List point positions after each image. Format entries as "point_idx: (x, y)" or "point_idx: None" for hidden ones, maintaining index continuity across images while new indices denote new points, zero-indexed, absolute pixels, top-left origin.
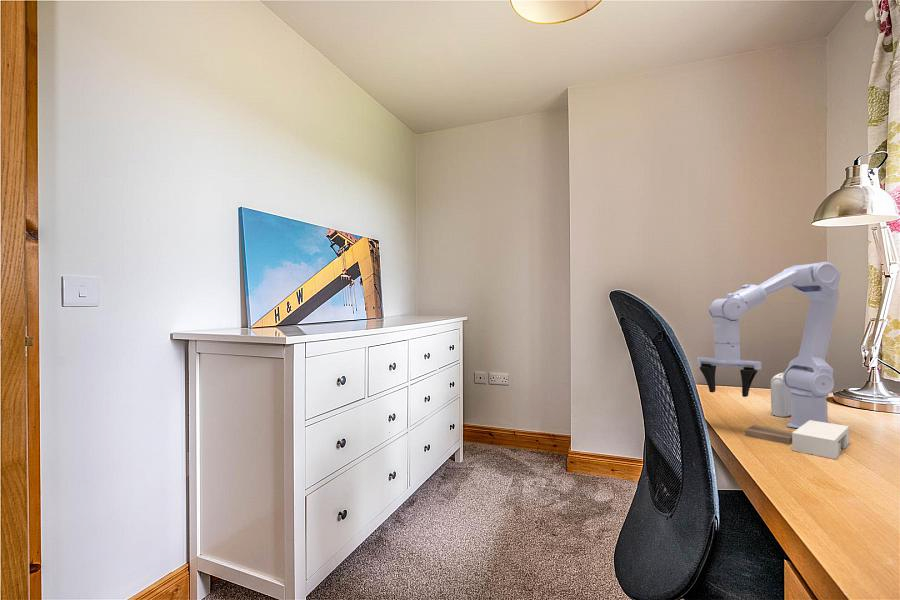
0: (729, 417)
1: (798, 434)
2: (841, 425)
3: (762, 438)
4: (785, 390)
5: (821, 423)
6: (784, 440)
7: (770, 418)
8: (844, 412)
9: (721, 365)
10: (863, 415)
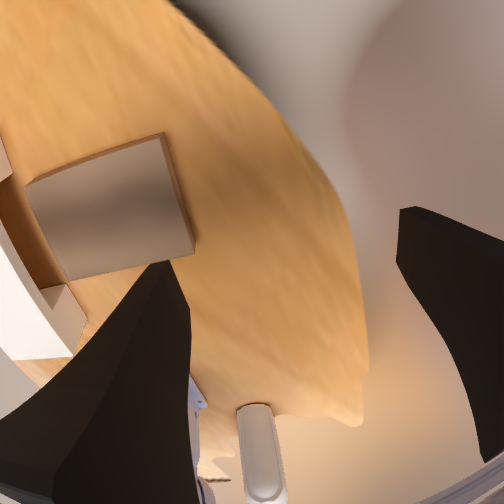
0: (336, 315)
1: None
2: (17, 356)
3: (102, 151)
4: (243, 473)
5: (36, 342)
6: (40, 178)
7: (254, 384)
8: (206, 466)
9: (461, 491)
10: None
